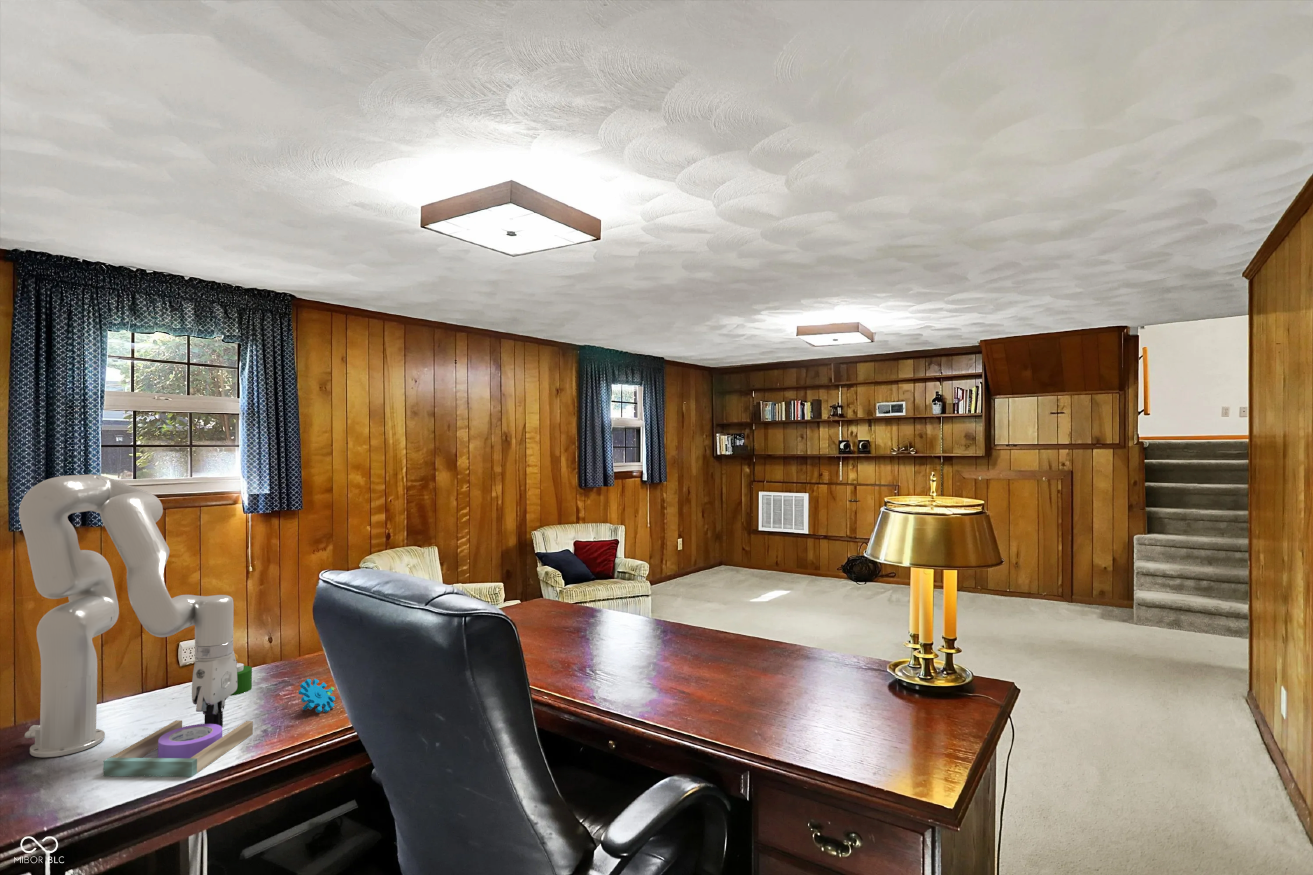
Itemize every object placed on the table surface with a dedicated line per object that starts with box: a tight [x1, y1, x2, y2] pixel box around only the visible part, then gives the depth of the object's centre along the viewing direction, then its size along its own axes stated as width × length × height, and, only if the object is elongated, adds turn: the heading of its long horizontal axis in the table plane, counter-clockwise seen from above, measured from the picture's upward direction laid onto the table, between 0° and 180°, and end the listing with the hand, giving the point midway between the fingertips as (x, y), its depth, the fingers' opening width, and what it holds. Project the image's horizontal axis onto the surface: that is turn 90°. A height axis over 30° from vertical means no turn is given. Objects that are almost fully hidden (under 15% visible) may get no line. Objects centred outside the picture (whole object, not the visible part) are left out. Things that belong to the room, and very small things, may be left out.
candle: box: [229, 653, 253, 697], centre depth 186 cm, size 8×8×10 cm
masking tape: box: [157, 723, 223, 758], centre depth 149 cm, size 12×12×4 cm
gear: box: [298, 678, 336, 714], centre depth 173 cm, size 11×6×10 cm
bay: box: [102, 719, 254, 778], centre depth 148 cm, size 18×20×3 cm
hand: (213, 729), depth 157 cm, fingers closed
